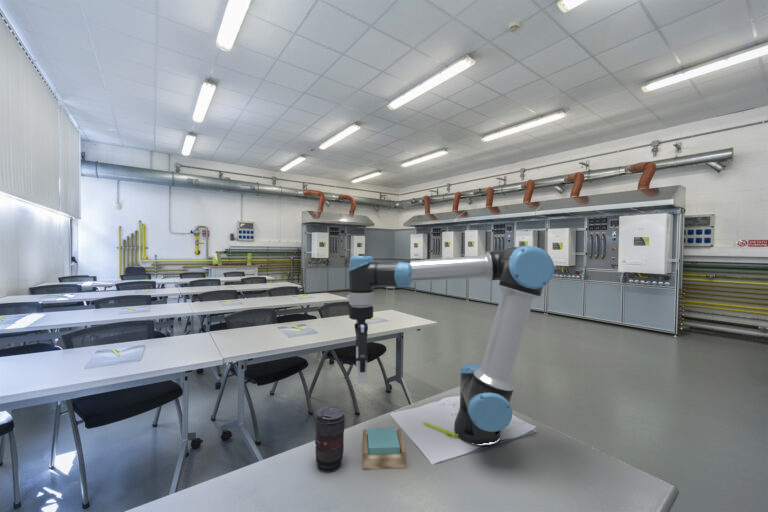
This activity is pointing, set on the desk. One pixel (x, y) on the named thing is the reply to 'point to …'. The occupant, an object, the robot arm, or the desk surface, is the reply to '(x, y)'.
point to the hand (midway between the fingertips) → (361, 373)
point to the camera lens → (329, 438)
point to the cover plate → (383, 441)
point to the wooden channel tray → (383, 456)
